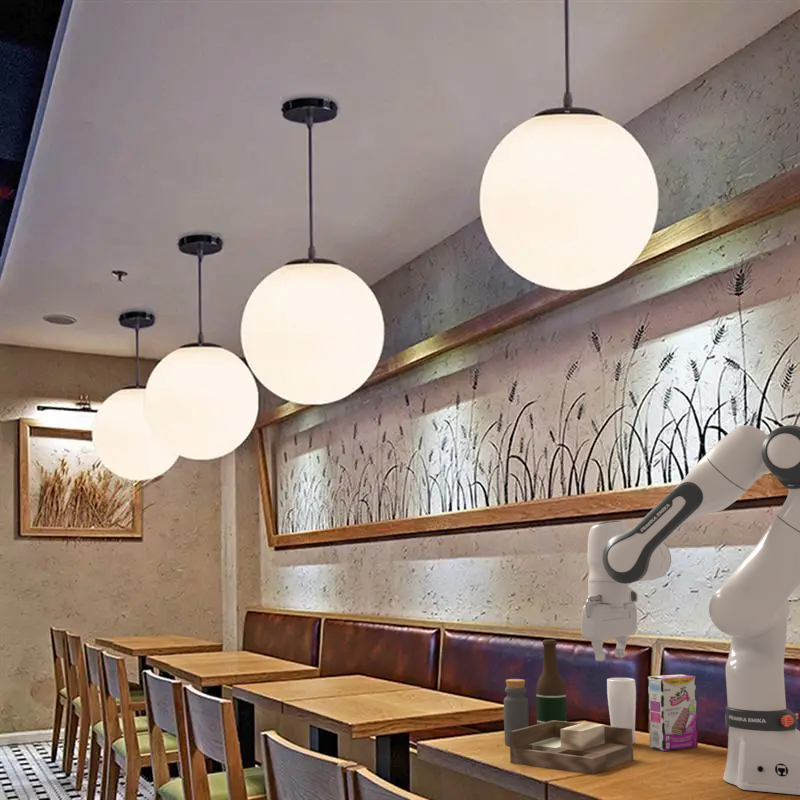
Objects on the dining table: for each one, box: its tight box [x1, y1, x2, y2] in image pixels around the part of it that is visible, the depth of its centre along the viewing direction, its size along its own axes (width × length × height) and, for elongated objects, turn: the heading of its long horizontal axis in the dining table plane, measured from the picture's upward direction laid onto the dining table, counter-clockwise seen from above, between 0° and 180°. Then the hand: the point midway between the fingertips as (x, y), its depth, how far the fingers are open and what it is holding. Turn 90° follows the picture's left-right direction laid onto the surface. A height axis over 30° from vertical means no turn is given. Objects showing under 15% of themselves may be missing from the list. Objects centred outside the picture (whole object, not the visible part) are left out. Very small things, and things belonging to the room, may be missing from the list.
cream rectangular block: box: [560, 722, 605, 751], centre depth 218 cm, size 5×11×4 cm, turn 142°
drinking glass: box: [606, 677, 637, 745], centre depth 237 cm, size 7×7×15 cm
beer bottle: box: [535, 639, 568, 724], centre depth 243 cm, size 8×8×24 cm
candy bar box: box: [647, 674, 699, 752], centre depth 231 cm, size 11×5×16 cm, turn 120°
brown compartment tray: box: [509, 720, 634, 775], centre depth 217 cm, size 20×19×6 cm
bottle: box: [503, 678, 530, 747], centre depth 237 cm, size 6×6×15 cm
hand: (610, 658), depth 216 cm, fingers open, 8 cm apart
